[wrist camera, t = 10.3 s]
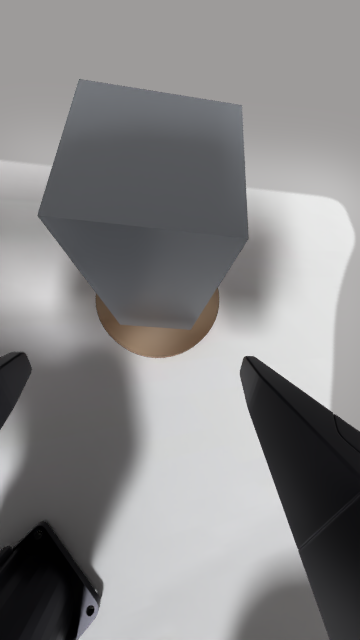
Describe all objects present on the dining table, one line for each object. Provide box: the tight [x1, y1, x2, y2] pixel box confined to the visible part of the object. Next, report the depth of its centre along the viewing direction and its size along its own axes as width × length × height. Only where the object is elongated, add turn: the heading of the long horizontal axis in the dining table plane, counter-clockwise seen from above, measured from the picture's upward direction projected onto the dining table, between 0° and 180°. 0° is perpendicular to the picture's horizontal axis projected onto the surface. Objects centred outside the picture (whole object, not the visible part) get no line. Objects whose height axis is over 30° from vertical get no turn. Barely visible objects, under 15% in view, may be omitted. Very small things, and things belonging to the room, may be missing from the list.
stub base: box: [96, 287, 219, 358], centre depth 17 cm, size 11×11×5 cm
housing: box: [37, 79, 248, 330], centre depth 12 cm, size 6×6×12 cm
